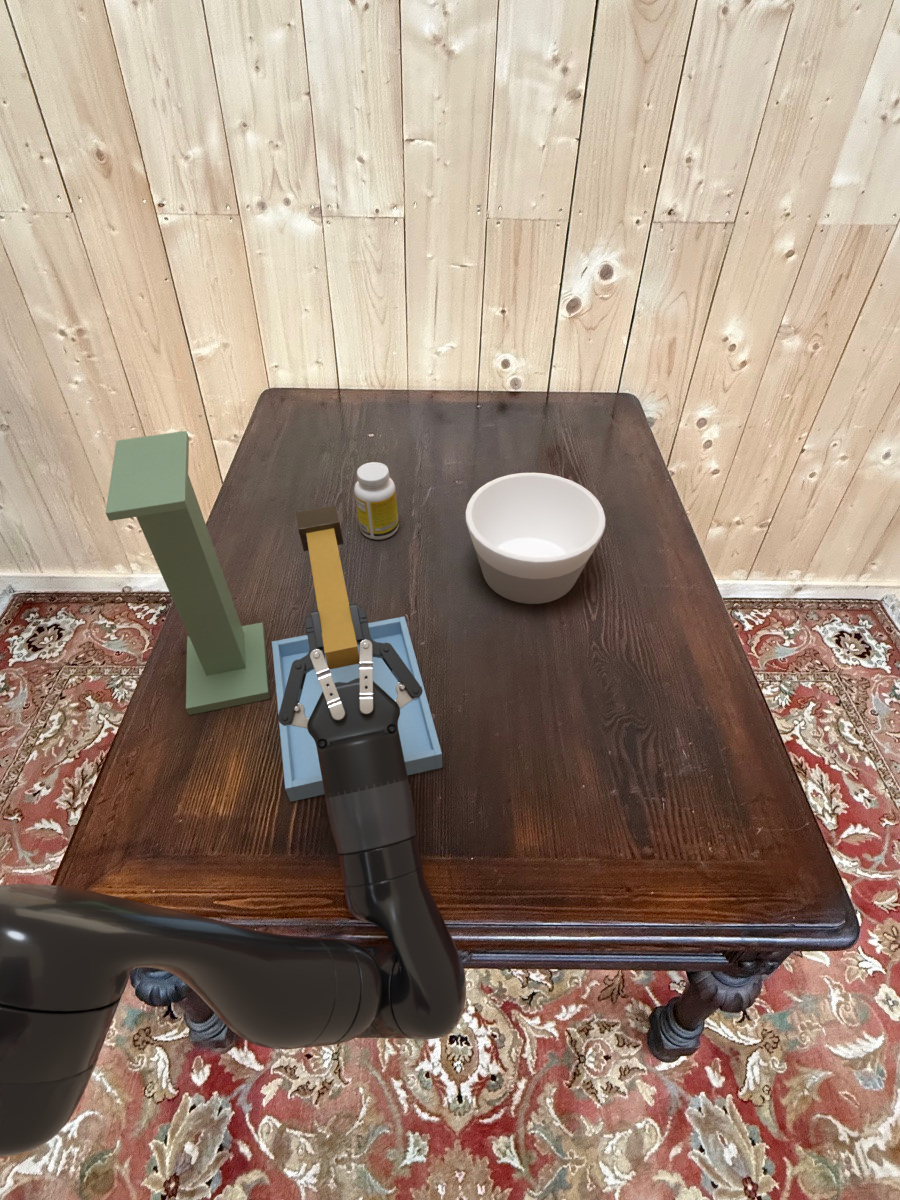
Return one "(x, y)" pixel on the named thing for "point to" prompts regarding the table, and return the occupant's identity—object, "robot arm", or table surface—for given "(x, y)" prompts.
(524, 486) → the bowl
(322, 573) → the brass bolt
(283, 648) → the tray
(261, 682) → the stand
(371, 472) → the pill bottle
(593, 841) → the table surface
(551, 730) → the table surface
